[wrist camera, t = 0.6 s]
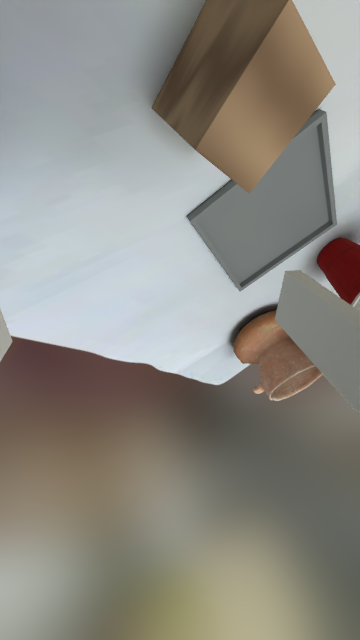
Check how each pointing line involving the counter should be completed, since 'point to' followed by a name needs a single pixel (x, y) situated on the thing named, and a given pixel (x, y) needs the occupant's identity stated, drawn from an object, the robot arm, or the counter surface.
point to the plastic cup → (342, 269)
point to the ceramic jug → (274, 358)
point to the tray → (272, 208)
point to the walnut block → (244, 85)
